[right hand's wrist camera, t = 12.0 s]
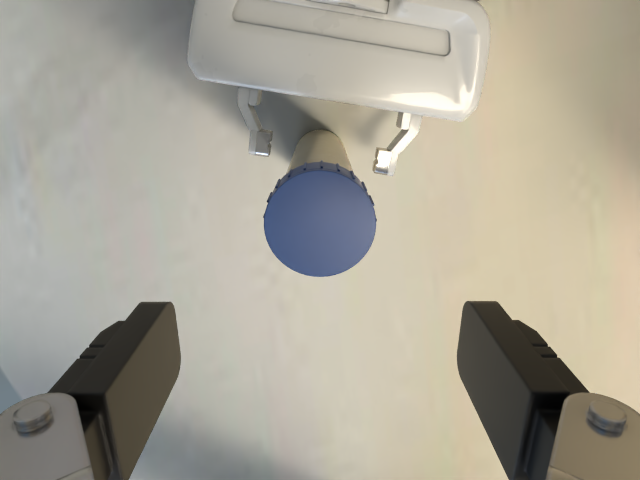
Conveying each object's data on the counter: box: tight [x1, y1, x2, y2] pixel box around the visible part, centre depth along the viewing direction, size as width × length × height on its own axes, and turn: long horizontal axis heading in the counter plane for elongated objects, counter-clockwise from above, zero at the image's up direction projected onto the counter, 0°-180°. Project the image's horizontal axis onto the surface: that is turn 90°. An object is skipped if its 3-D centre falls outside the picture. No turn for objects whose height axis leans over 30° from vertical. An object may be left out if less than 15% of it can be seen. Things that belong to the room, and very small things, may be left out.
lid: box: [263, 160, 377, 277], centre depth 21 cm, size 5×5×2 cm
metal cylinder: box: [286, 129, 353, 174], centre depth 29 cm, size 4×4×20 cm
